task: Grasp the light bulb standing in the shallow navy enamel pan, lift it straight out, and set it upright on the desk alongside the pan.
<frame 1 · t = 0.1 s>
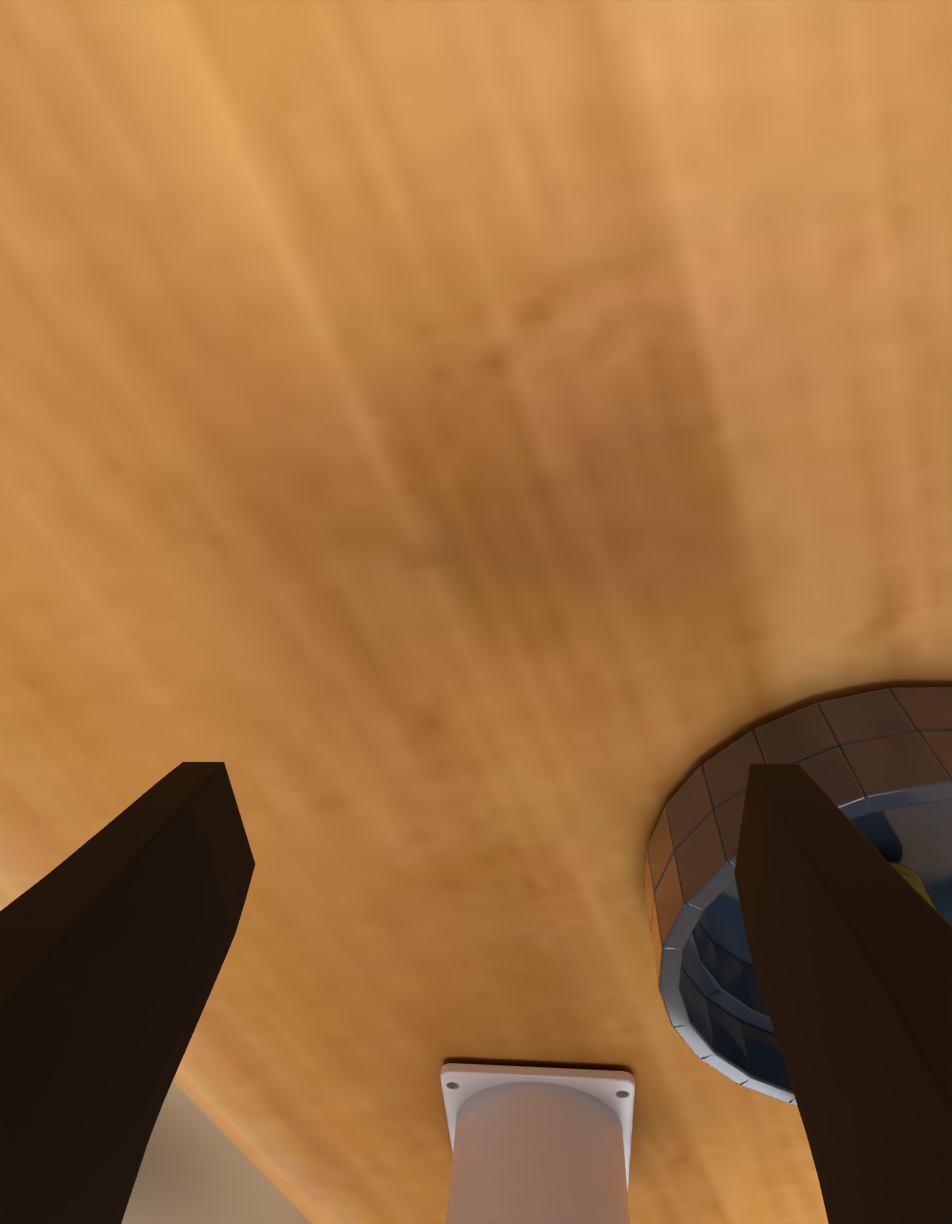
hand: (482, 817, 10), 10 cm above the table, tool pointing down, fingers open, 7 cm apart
pan: (870, 862, 24), on the table
light bulb: (871, 865, 24), resting on pan
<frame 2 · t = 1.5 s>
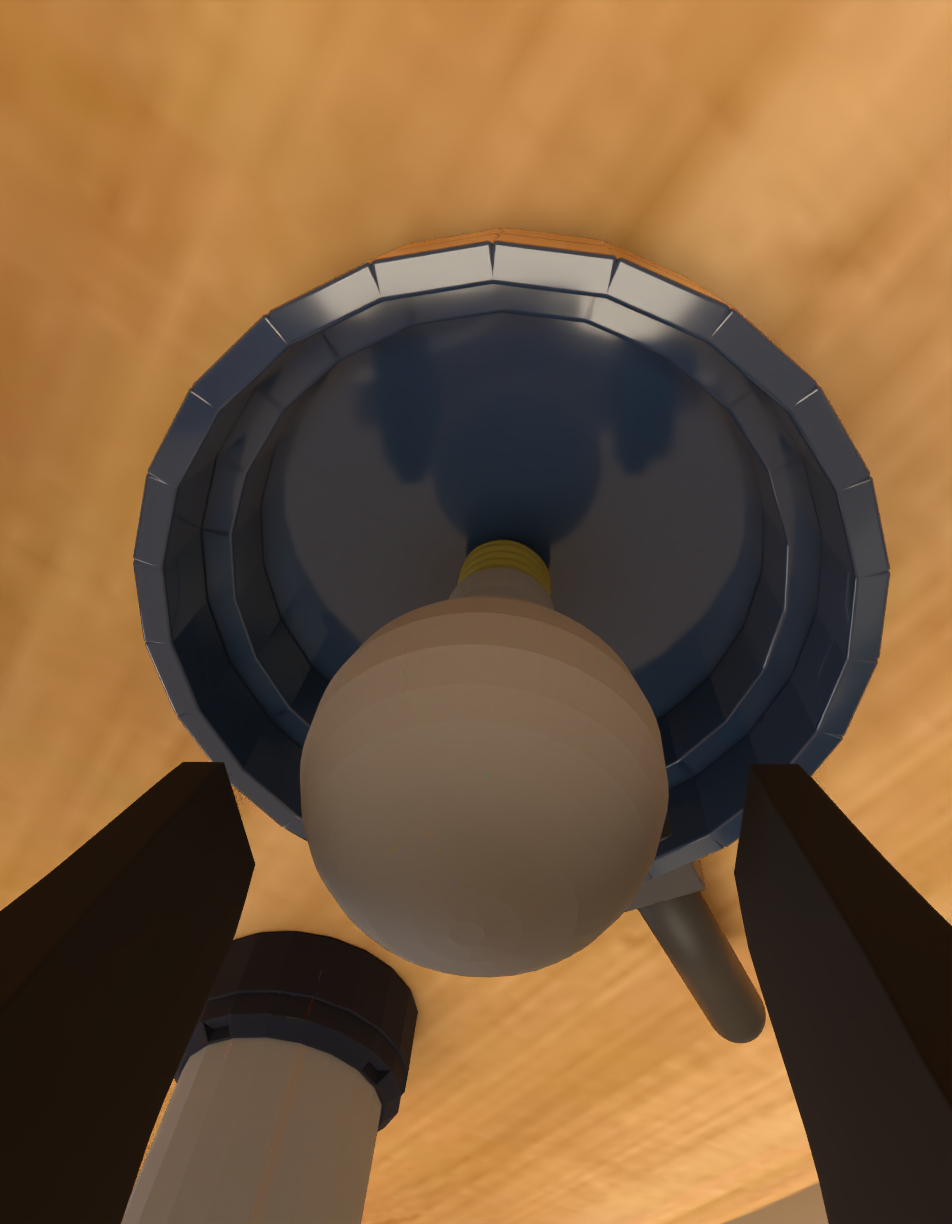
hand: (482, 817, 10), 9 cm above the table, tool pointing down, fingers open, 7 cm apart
pan handle: (689, 934, 20), point 2 cm above the table
pan: (506, 561, 18), on the table
light bulb: (505, 563, 18), resting on pan
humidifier: (309, 999, 28), on the table
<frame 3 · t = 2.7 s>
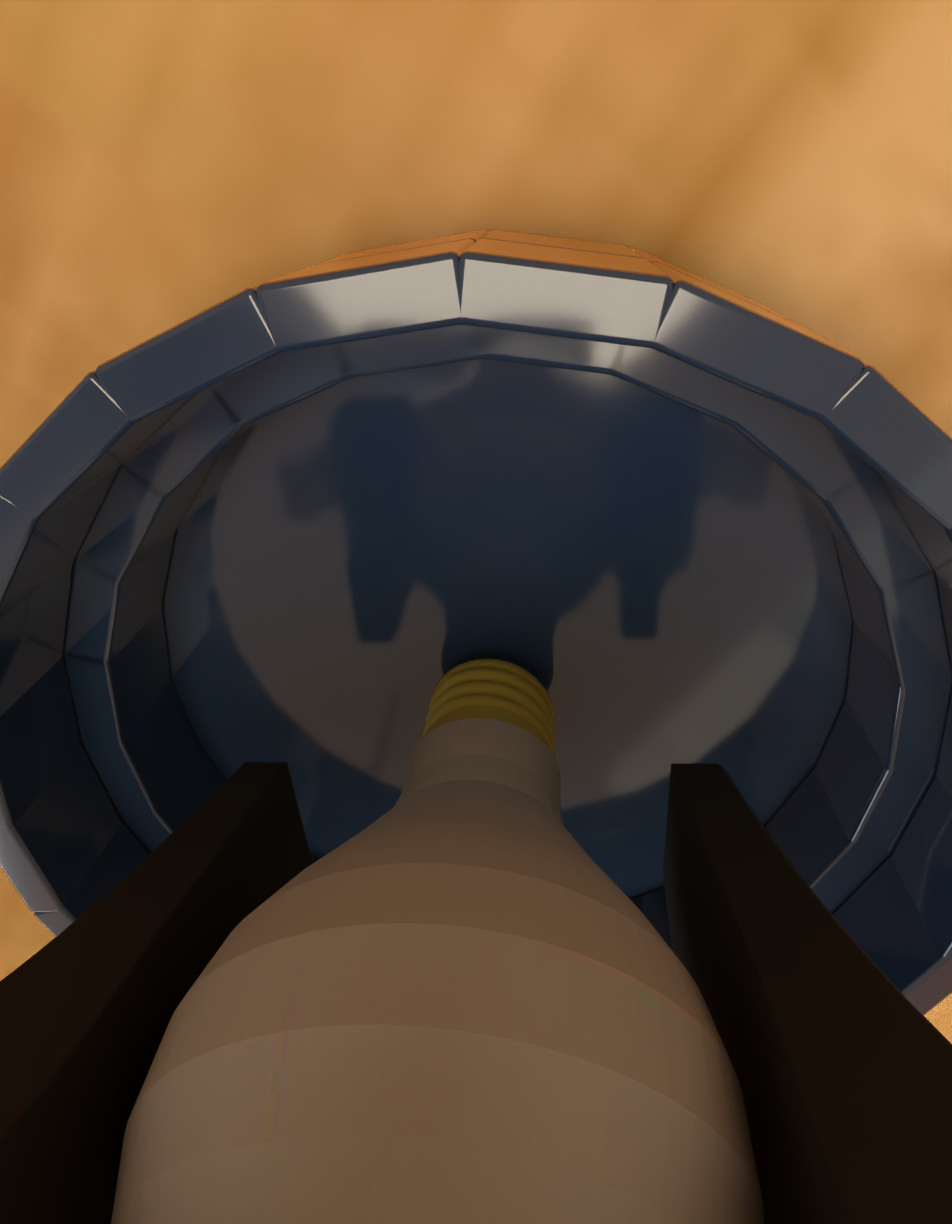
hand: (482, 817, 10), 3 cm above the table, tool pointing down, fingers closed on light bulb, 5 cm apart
pan: (496, 677, 13), on the table
light bulb: (493, 680, 13), resting on pan, touching gripper
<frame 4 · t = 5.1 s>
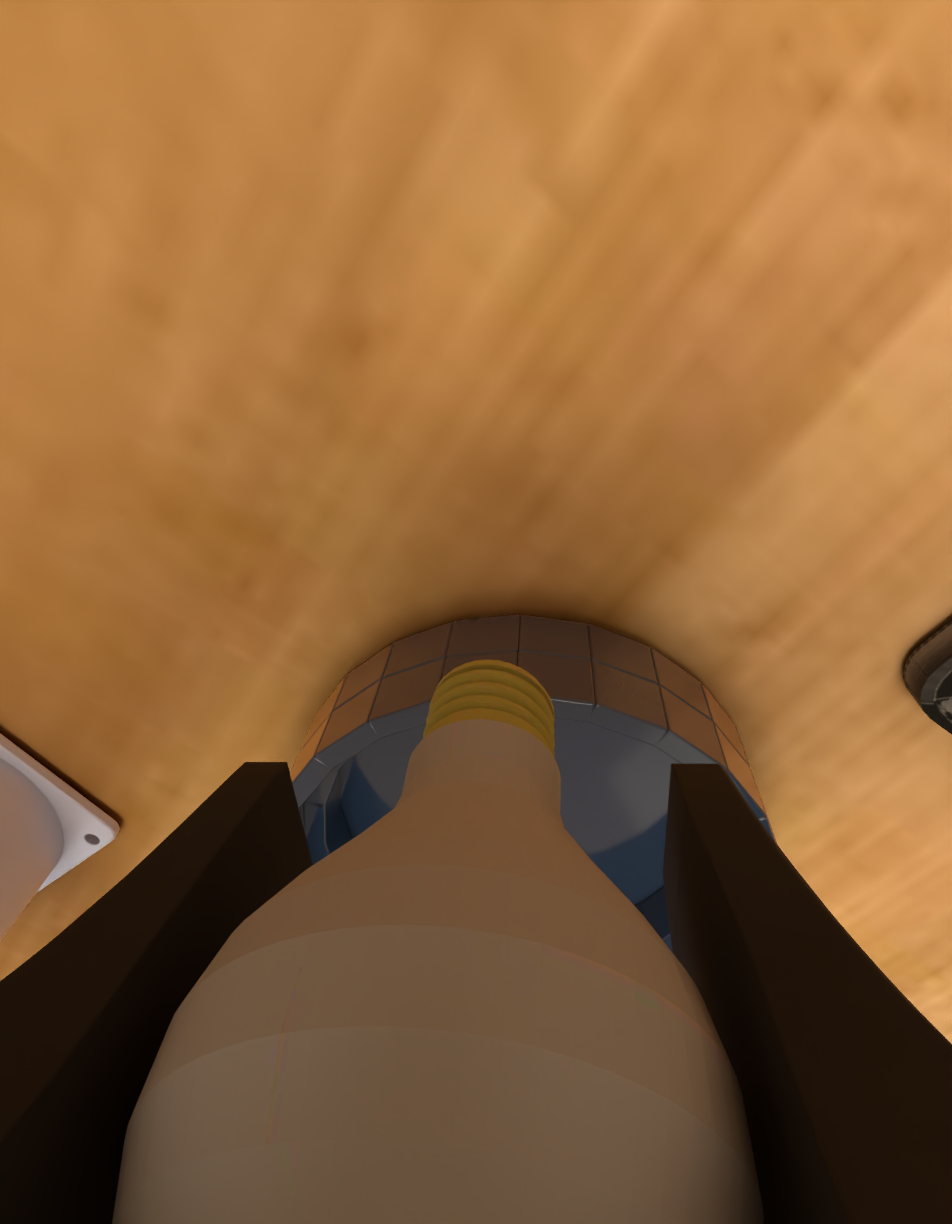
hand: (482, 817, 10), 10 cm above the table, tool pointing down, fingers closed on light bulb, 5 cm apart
pan: (521, 800, 24), on the table
light bulb: (494, 681, 13), point 7 cm above the table, touching gripper
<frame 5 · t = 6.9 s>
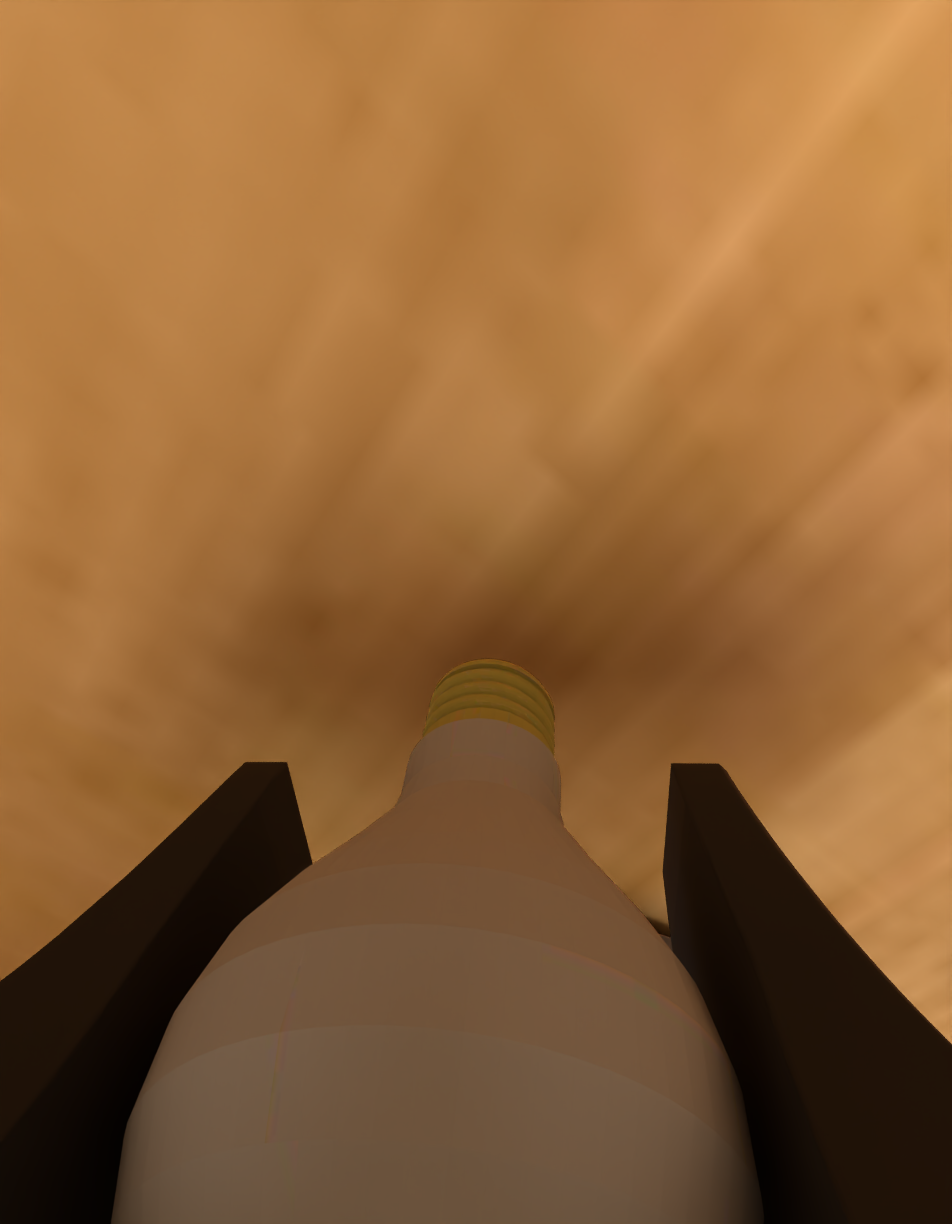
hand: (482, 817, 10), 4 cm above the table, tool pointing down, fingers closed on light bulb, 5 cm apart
light bulb: (494, 681, 13), point 1 cm above the table, touching gripper
when the fingers open (3 cm above the table, at t = 7.8 s): light bulb stays where it is, on the table.
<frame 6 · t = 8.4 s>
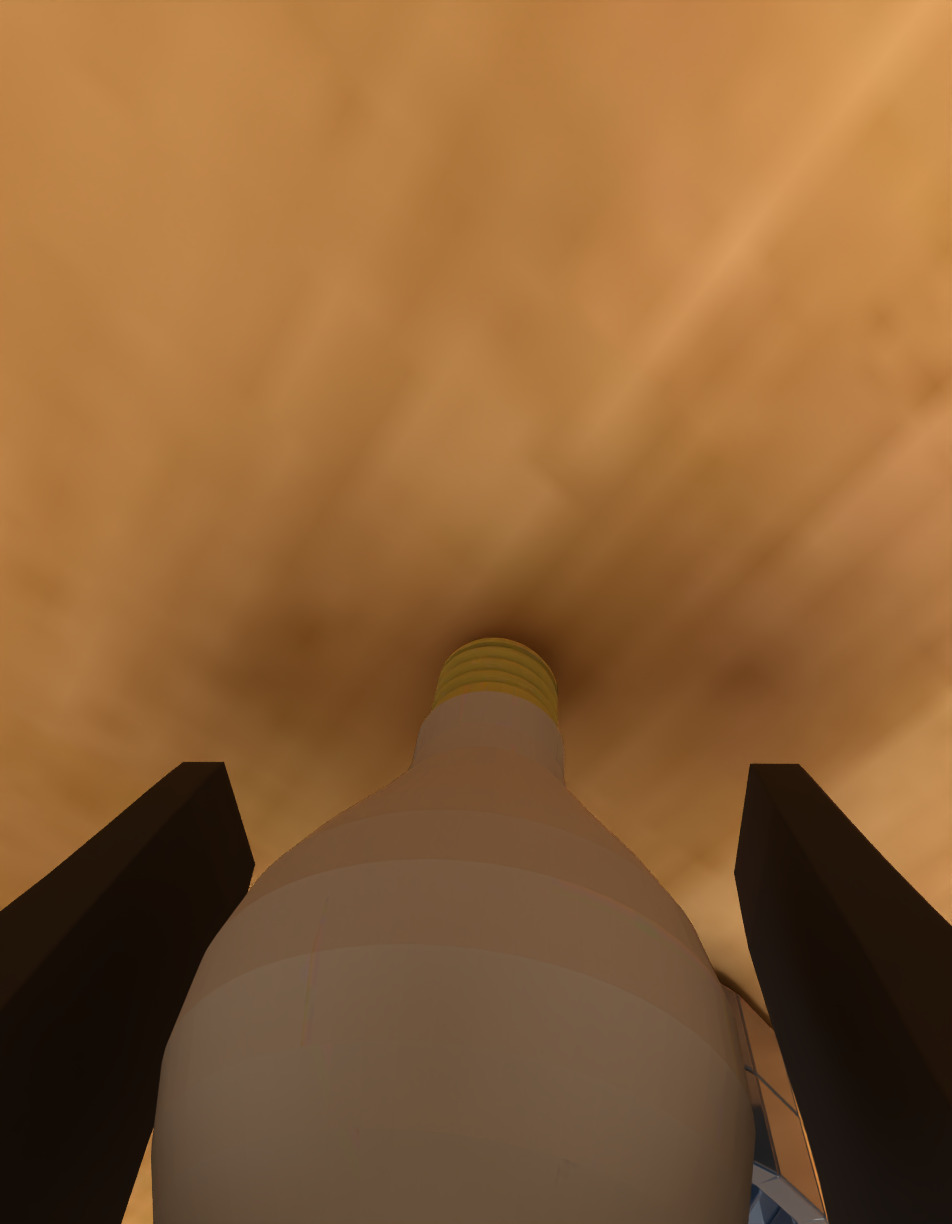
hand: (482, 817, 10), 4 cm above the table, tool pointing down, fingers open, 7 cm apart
pan: (516, 1083, 20), on the table
light bulb: (499, 660, 14), on the table
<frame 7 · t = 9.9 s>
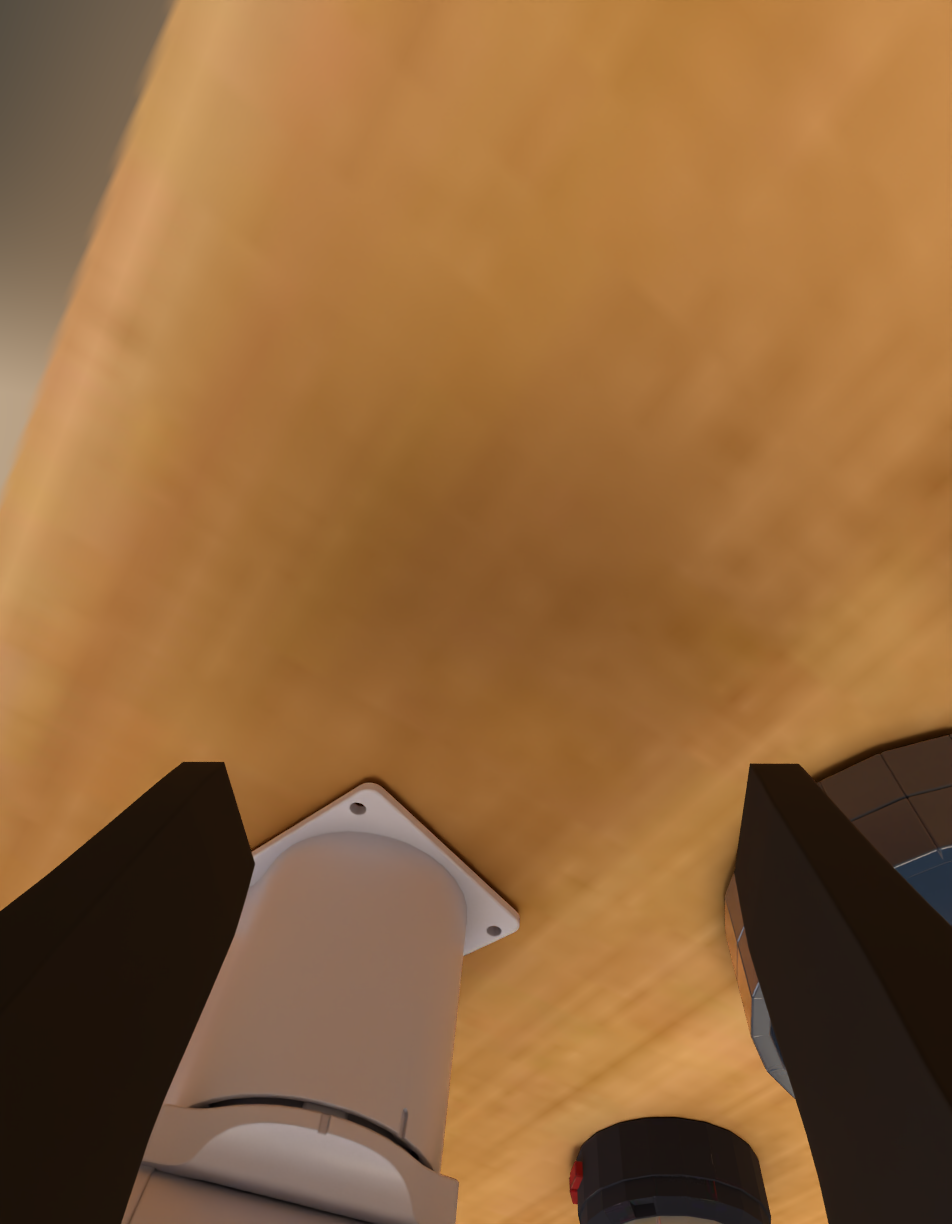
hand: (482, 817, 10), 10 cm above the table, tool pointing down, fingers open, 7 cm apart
pan: (945, 896, 24), on the table
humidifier: (665, 1162, 34), on the table
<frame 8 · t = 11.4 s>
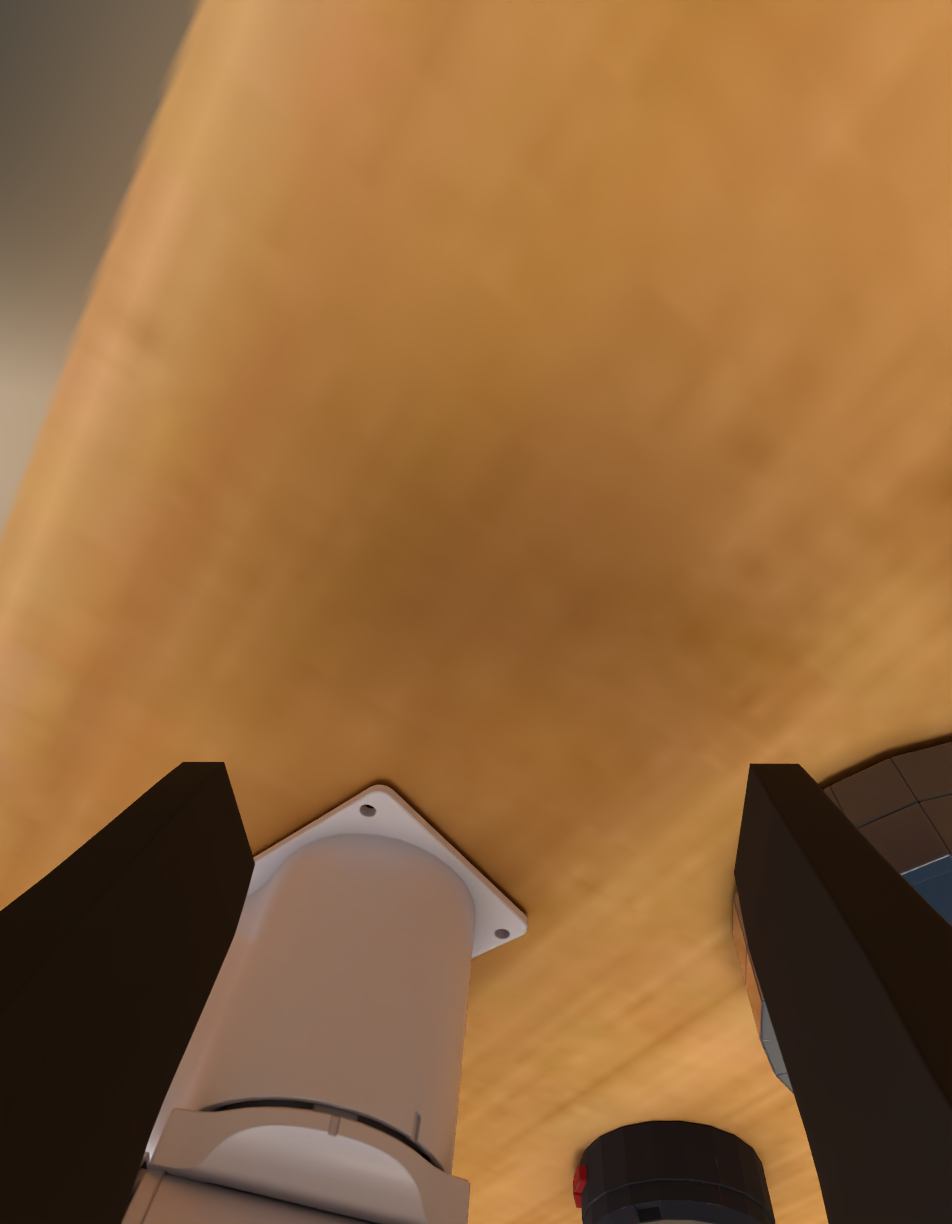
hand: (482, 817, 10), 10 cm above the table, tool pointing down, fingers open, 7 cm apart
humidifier: (668, 1166, 34), on the table
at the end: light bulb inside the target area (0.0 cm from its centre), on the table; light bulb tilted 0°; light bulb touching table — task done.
